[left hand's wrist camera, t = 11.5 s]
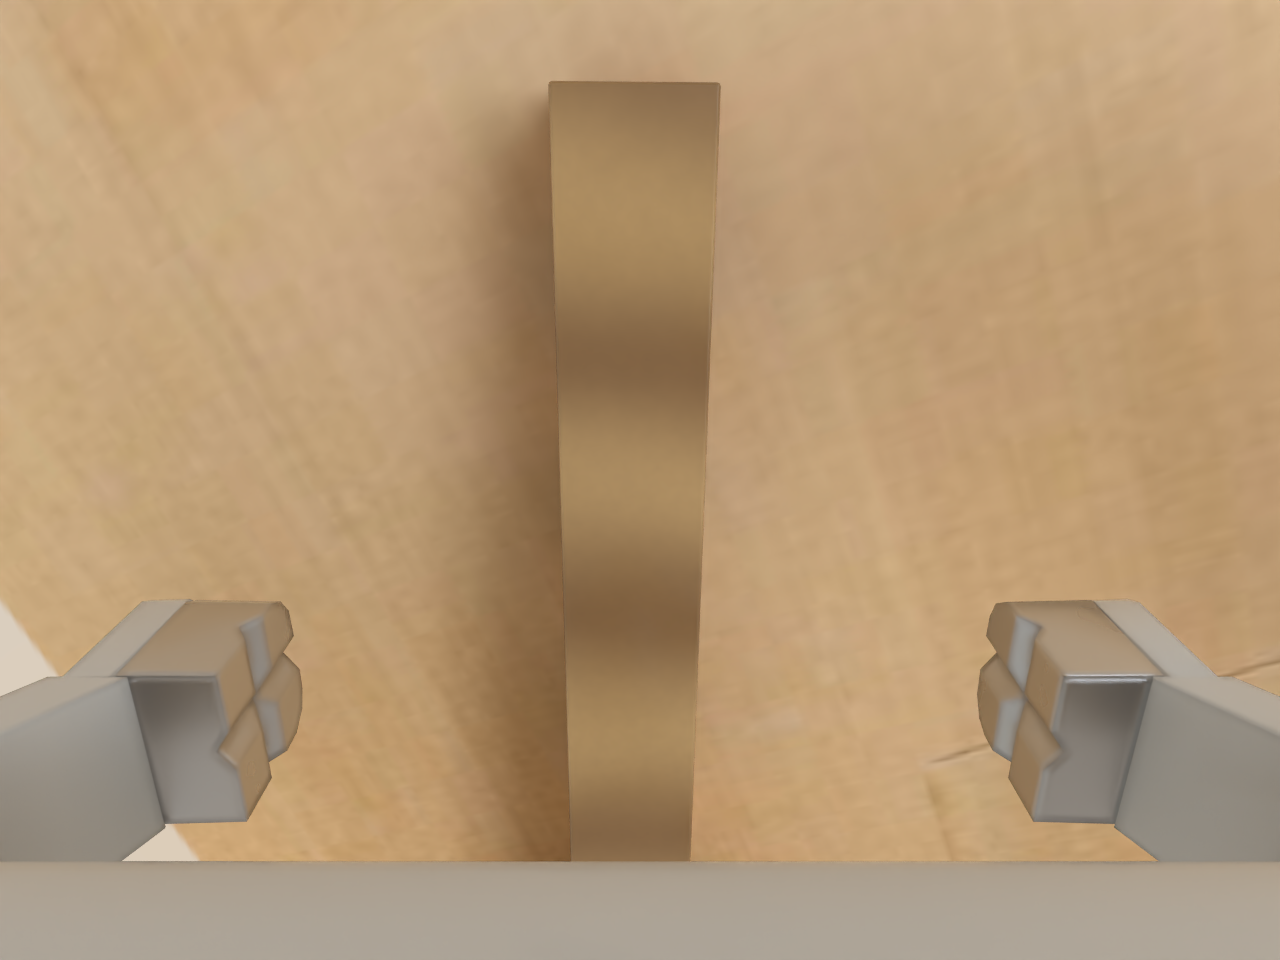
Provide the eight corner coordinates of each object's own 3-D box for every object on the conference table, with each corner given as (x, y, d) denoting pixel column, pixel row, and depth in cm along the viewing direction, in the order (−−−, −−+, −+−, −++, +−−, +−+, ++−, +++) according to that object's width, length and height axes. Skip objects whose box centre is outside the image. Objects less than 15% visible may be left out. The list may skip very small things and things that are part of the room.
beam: (563, 87, 29) (548, 80, 23) (702, 88, 29) (721, 82, 23) (586, 1103, 48) (581, 1237, 42) (669, 1102, 48) (675, 1236, 42)
